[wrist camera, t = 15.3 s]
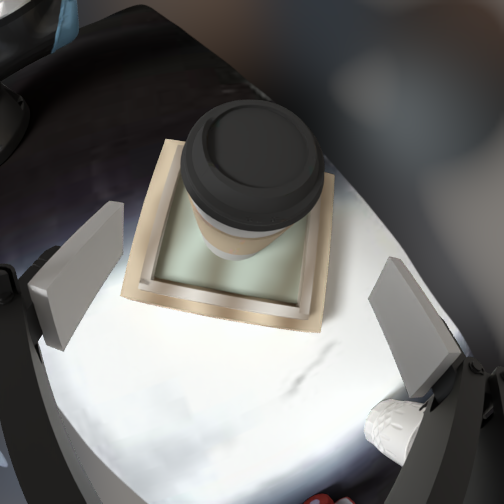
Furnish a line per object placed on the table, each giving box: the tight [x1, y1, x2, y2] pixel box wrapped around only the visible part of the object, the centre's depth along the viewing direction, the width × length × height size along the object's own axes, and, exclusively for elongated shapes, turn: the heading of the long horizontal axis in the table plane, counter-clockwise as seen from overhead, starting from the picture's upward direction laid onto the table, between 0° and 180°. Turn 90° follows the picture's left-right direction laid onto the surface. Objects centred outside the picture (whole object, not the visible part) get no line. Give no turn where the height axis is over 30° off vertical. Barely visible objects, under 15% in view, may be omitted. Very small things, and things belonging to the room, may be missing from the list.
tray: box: [120, 139, 335, 333], centre depth 31 cm, size 20×18×6 cm
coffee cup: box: [180, 100, 325, 261], centre depth 23 cm, size 9×9×15 cm
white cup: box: [364, 399, 426, 467], centre depth 26 cm, size 8×8×10 cm
